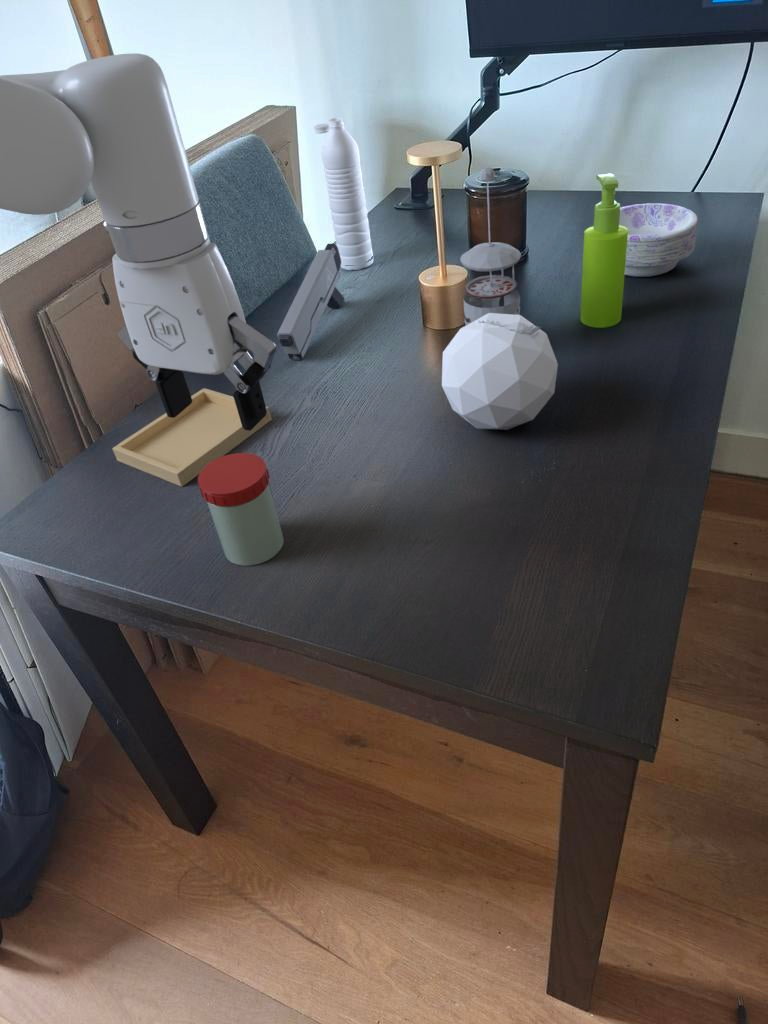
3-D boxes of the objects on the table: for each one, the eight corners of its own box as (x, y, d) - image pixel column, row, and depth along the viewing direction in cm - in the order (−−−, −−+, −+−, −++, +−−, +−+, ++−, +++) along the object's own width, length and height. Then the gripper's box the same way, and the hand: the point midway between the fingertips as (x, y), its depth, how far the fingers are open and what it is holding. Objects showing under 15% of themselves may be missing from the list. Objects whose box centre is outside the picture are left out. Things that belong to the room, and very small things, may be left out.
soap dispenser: (615, 305, 116) (625, 168, 104) (624, 325, 111) (636, 183, 98) (576, 309, 117) (581, 173, 104) (583, 329, 112) (590, 188, 99)
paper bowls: (594, 286, 123) (597, 237, 118) (596, 250, 134) (599, 204, 129) (695, 284, 119) (702, 233, 114) (688, 247, 130) (695, 200, 125)
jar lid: (236, 514, 73) (232, 501, 72) (187, 494, 77) (183, 482, 76) (283, 475, 78) (280, 463, 77) (235, 458, 81) (231, 446, 80)
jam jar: (255, 573, 79) (233, 503, 73) (211, 553, 82) (186, 484, 76) (296, 536, 83) (278, 466, 77) (252, 518, 86) (232, 450, 80)
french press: (448, 361, 109) (435, 179, 93) (478, 325, 117) (471, 152, 101) (513, 369, 105) (511, 181, 89) (540, 332, 113) (542, 152, 97)
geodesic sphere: (595, 351, 94) (524, 262, 89) (586, 413, 84) (505, 316, 79) (500, 410, 103) (431, 332, 98) (482, 472, 93) (404, 388, 88)
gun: (351, 286, 131) (338, 235, 124) (308, 387, 117) (290, 336, 109) (338, 286, 132) (324, 235, 124) (293, 386, 118) (274, 335, 110)
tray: (181, 487, 93) (177, 473, 91) (117, 460, 99) (111, 448, 98) (272, 419, 102) (268, 407, 101) (207, 399, 109) (203, 387, 108)
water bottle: (351, 256, 146) (329, 113, 131) (380, 258, 143) (361, 113, 128) (326, 274, 141) (301, 127, 125) (356, 277, 138) (334, 127, 122)
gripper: (49, 247, 62) (122, 425, 73) (220, 256, 55) (273, 452, 66) (110, 214, 67) (170, 386, 78) (273, 219, 60) (314, 407, 71)
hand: (217, 415), depth 72 cm, fingers open, 8 cm apart
